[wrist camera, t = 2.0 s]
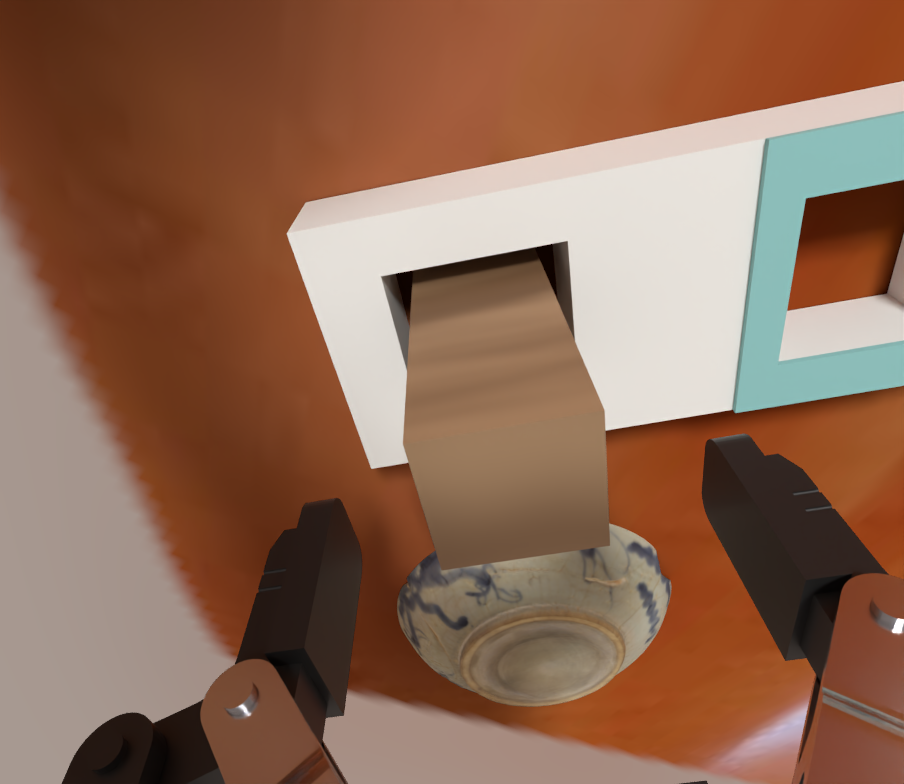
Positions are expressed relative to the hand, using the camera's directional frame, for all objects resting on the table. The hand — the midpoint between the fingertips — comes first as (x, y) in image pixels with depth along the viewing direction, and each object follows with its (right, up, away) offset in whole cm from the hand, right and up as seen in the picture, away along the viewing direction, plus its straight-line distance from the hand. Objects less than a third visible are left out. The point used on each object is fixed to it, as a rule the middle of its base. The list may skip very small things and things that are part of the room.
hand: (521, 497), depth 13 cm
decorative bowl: (+3, -9, +19) cm, 21 cm away
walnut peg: (-1, +6, +8) cm, 10 cm away
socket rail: (+5, +7, +7) cm, 11 cm away
